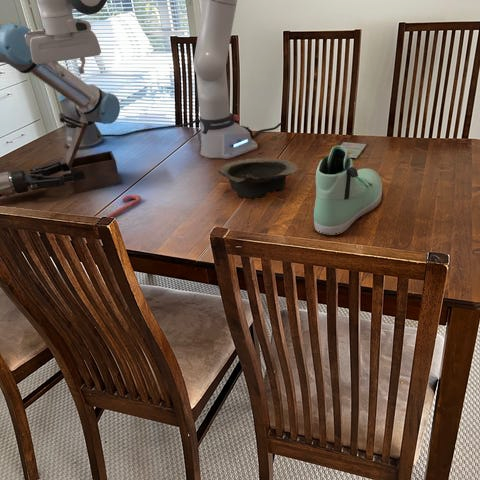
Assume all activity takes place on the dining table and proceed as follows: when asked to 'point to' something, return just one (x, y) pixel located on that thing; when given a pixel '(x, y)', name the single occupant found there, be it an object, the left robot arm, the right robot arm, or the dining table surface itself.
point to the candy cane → (126, 205)
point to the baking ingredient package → (353, 148)
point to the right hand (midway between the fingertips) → (72, 74)
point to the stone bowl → (257, 176)
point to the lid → (76, 138)
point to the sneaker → (343, 192)
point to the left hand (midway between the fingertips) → (82, 169)
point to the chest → (96, 171)
